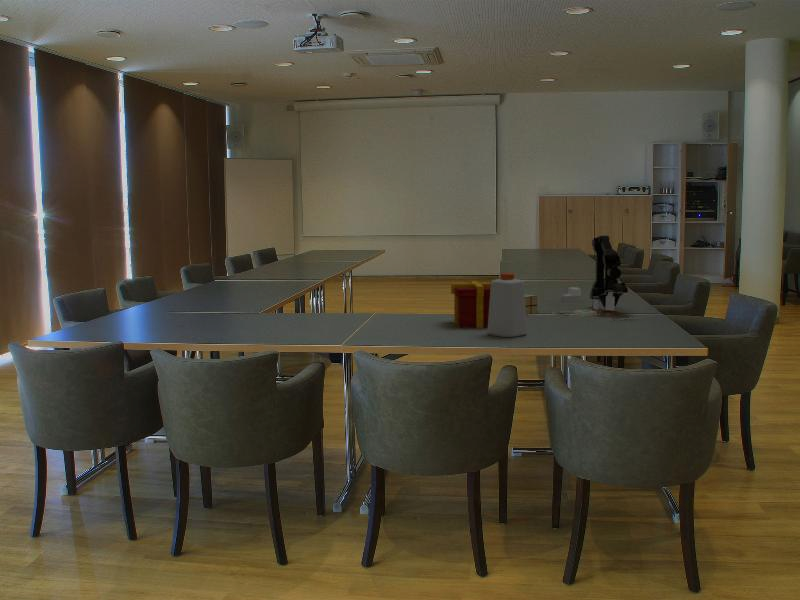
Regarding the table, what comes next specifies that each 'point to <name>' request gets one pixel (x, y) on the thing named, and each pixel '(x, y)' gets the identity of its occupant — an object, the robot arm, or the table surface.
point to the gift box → (471, 304)
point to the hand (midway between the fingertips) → (609, 306)
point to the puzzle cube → (530, 304)
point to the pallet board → (607, 312)
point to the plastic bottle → (507, 307)
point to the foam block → (572, 295)
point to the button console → (585, 313)
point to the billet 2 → (610, 303)
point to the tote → (561, 314)
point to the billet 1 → (597, 305)
